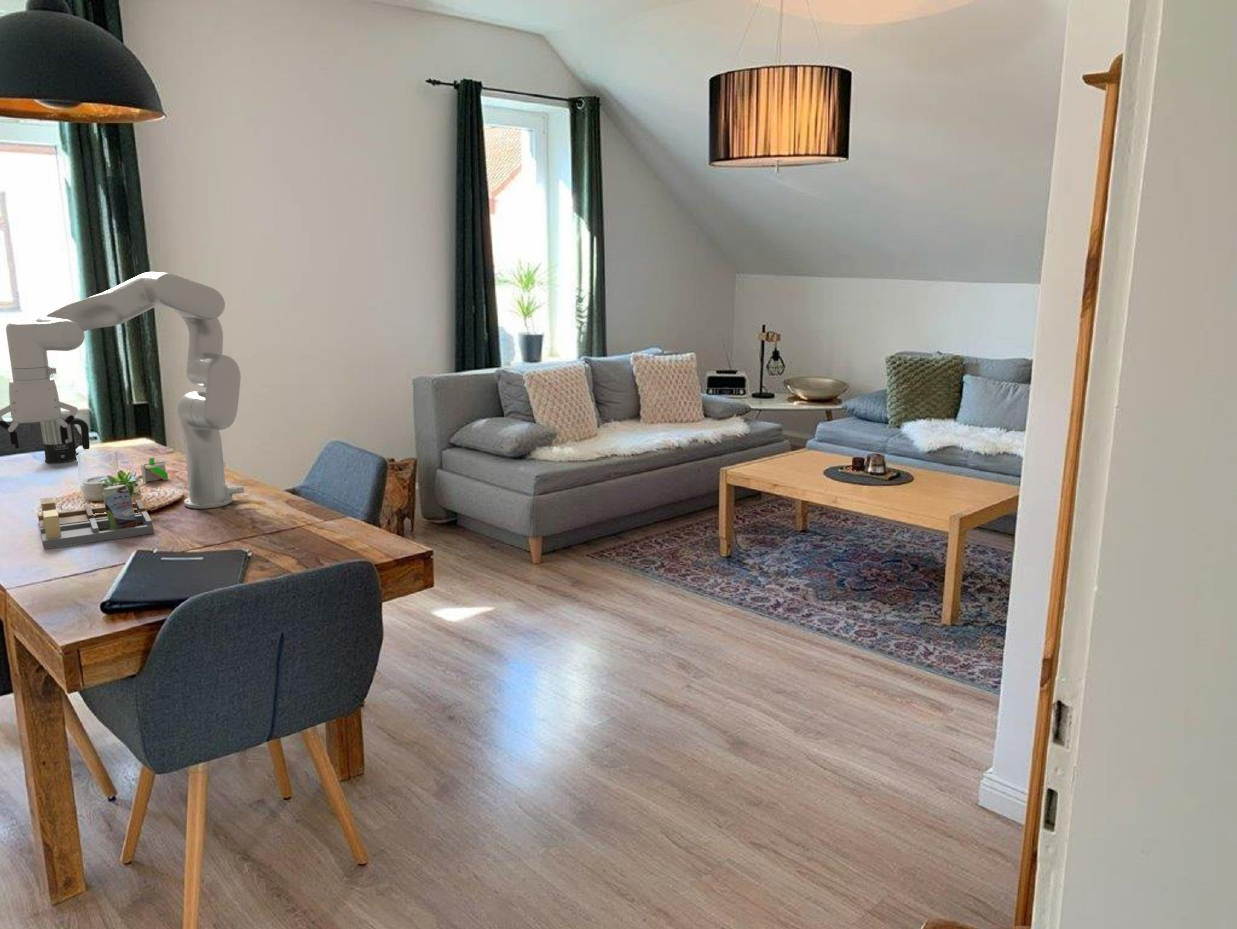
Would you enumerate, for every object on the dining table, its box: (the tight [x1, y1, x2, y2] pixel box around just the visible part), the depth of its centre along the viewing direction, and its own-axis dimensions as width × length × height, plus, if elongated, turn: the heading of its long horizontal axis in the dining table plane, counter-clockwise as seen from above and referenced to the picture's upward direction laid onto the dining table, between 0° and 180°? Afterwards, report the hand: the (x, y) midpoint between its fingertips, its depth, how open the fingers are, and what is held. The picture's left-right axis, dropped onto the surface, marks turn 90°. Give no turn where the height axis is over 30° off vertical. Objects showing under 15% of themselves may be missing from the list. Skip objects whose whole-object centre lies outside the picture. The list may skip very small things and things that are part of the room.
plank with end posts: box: [37, 496, 146, 532], centre depth 248 cm, size 24×12×7 cm, turn 123°
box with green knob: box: [140, 457, 169, 484], centre depth 288 cm, size 4×7×8 cm, turn 136°
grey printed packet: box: [101, 484, 138, 530], centre depth 240 cm, size 6×7×12 cm
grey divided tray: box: [39, 508, 155, 550], centre depth 238 cm, size 24×12×7 cm, turn 123°
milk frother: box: [39, 413, 91, 464], centre depth 315 cm, size 14×16×15 cm
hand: (40, 445), depth 228 cm, fingers open, 9 cm apart
